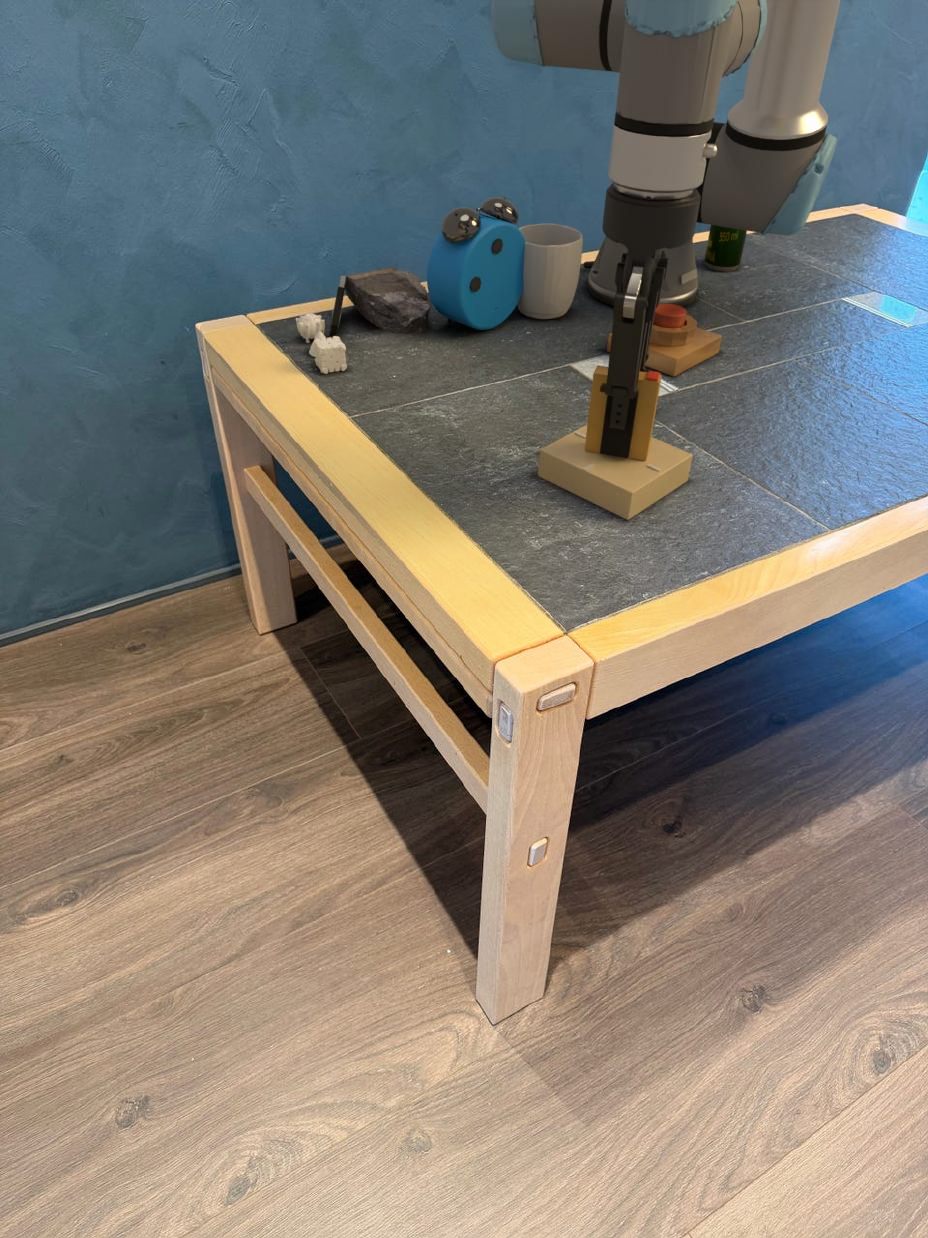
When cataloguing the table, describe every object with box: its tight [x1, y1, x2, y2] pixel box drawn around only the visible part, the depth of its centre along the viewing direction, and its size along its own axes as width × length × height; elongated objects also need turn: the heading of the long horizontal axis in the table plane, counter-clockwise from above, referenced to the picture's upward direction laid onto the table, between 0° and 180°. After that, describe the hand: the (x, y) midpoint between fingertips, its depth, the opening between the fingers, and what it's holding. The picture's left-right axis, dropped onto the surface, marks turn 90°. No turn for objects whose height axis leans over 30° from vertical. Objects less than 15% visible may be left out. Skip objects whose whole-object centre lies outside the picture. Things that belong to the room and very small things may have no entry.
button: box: [653, 304, 687, 329], centre depth 110 cm, size 4×4×2 cm
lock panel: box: [537, 424, 694, 521], centre depth 88 cm, size 11×10×3 cm
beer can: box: [703, 225, 748, 273], centre depth 134 cm, size 5×5×12 cm
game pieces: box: [295, 312, 348, 375], centre depth 110 cm, size 12×3×3 cm, turn 22°
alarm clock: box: [426, 195, 526, 331], centre depth 114 cm, size 13×6×15 cm, turn 136°
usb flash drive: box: [329, 275, 347, 338], centre depth 116 cm, size 9×5×1 cm
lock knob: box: [585, 364, 663, 461], centre depth 85 cm, size 6×2×8 cm, turn 73°
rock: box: [344, 267, 431, 335], centre depth 118 cm, size 14×11×5 cm
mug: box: [516, 223, 584, 320], centre depth 120 cm, size 13×9×10 cm
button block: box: [606, 314, 723, 377], centre depth 112 cm, size 10×10×4 cm
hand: (616, 447), depth 87 cm, fingers closed on lock knob, 2 cm apart
